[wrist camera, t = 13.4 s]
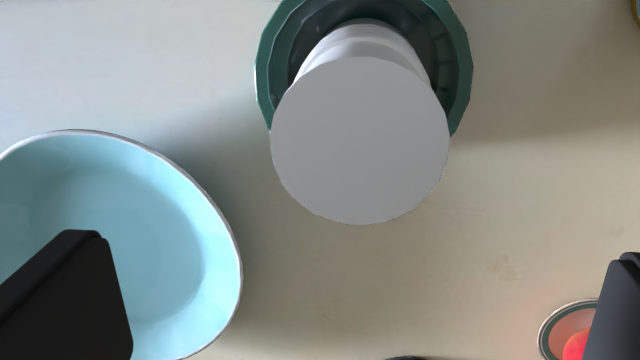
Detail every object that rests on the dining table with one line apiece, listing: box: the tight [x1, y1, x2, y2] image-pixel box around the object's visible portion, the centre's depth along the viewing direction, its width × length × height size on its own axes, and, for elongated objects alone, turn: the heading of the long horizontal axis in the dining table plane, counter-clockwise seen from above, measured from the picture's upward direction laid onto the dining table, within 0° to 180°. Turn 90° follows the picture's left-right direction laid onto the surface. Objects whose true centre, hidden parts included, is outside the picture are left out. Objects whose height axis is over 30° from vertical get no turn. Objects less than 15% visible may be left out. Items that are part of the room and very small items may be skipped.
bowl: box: [254, 0, 473, 137], centre depth 30 cm, size 13×13×5 cm
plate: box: [0, 129, 244, 360], centre depth 39 cm, size 22×22×3 cm
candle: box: [270, 18, 450, 225], centre depth 25 cm, size 7×7×15 cm
